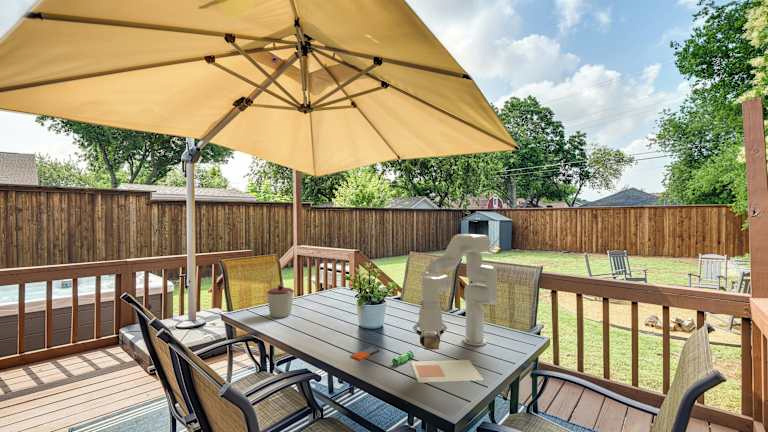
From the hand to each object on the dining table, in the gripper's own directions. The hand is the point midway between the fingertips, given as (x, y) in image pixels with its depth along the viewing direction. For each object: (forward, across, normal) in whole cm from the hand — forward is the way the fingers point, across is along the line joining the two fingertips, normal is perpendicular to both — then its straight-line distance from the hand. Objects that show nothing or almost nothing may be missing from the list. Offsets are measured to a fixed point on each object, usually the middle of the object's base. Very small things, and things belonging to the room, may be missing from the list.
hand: (429, 344), depth 154 cm
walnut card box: (0, 0, 0) cm, 0 cm away
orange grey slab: (+13, -28, +21) cm, 37 cm away
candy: (+13, -10, +11) cm, 20 cm away
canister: (+12, -83, +88) cm, 122 cm away
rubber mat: (+12, +7, 0) cm, 14 cm away
